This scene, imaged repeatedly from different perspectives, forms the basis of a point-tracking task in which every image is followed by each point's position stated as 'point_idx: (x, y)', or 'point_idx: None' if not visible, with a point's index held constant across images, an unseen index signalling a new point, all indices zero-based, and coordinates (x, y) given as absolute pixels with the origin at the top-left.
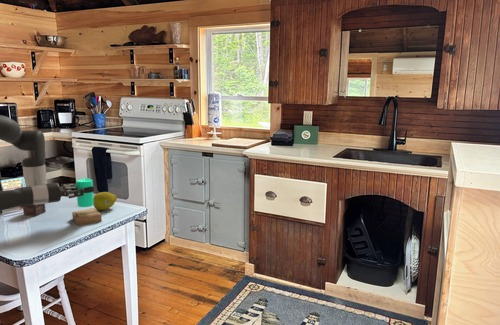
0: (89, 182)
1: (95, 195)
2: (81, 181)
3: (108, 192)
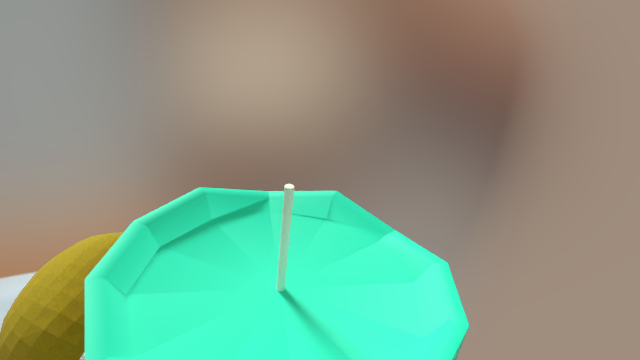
0: (416, 259)
1: (46, 327)
2: (254, 335)
3: (112, 236)
